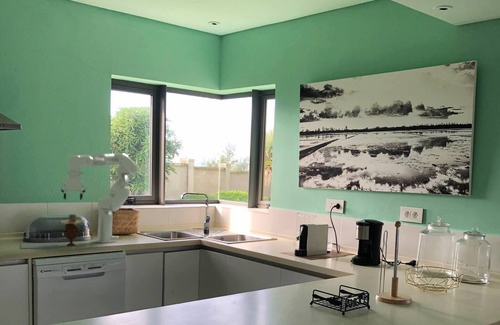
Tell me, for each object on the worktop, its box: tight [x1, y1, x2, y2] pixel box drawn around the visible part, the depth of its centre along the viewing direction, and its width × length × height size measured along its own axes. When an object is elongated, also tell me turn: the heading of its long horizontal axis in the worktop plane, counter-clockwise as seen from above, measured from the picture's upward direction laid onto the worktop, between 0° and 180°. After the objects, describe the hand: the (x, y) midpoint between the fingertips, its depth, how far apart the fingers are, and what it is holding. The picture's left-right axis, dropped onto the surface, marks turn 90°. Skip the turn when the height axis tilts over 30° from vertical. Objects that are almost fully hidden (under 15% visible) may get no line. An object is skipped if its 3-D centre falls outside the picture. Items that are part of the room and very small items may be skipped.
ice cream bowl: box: [62, 224, 81, 247], centre depth 329 cm, size 11×11×15 cm
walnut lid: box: [60, 213, 85, 225], centre depth 329 cm, size 14×14×5 cm
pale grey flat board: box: [20, 242, 60, 250], centre depth 322 cm, size 22×18×1 cm
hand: (72, 199), depth 329 cm, fingers open, 9 cm apart
